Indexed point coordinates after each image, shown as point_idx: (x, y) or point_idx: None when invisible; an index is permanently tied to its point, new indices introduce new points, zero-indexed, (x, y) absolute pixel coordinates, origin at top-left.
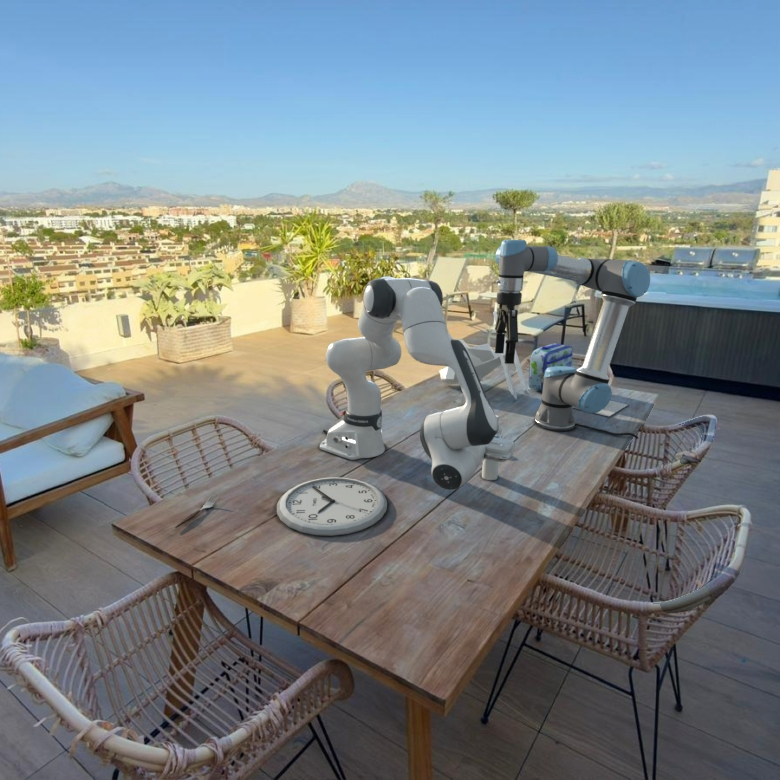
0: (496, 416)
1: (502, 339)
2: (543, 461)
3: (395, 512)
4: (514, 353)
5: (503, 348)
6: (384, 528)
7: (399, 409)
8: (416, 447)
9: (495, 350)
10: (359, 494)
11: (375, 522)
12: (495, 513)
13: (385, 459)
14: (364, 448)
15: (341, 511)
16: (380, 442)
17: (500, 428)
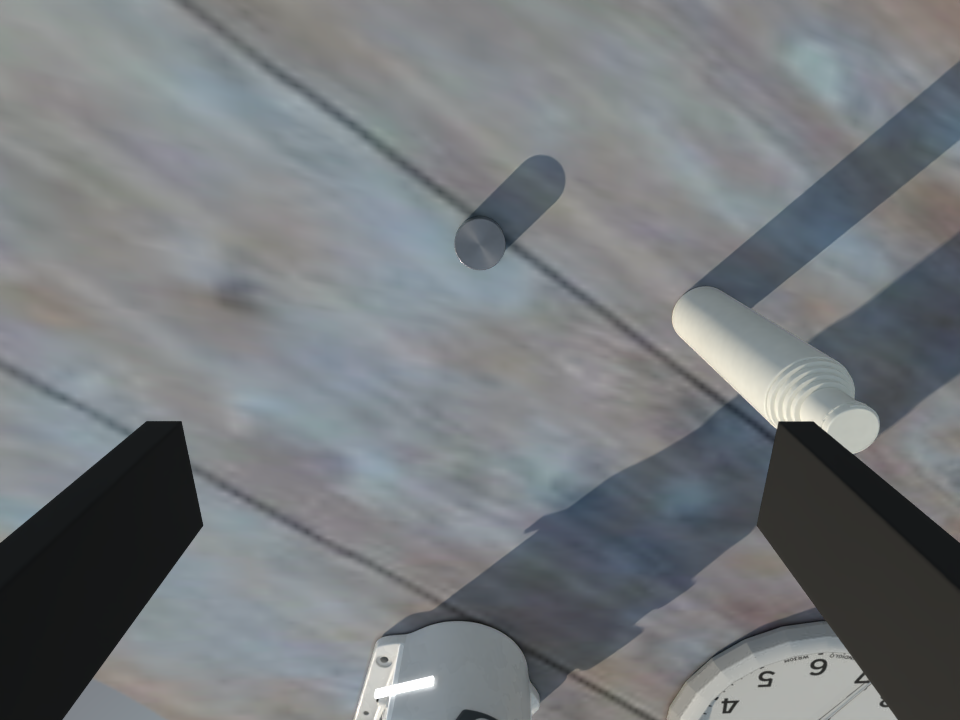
0: (863, 422)
1: (28, 618)
2: (577, 28)
3: None
4: (921, 515)
5: (140, 468)
6: None
7: None
8: (433, 528)
9: (173, 551)
10: (779, 685)
11: None
12: (955, 348)
13: (534, 618)
14: (525, 699)
15: (857, 716)
16: (488, 664)
17: (837, 368)
